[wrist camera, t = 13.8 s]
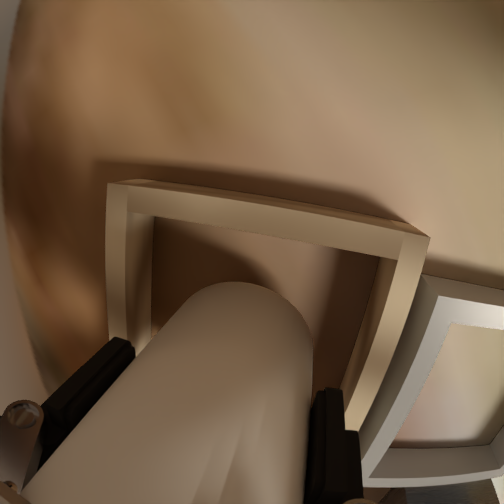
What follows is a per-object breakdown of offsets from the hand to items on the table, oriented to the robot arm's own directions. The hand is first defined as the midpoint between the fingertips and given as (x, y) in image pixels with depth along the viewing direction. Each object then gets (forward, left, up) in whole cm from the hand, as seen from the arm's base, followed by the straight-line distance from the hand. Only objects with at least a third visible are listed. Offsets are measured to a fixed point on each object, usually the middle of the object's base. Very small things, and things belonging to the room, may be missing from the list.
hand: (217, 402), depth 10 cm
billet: (0, 0, -4) cm, 4 cm away
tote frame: (+2, +13, -5) cm, 14 cm away
